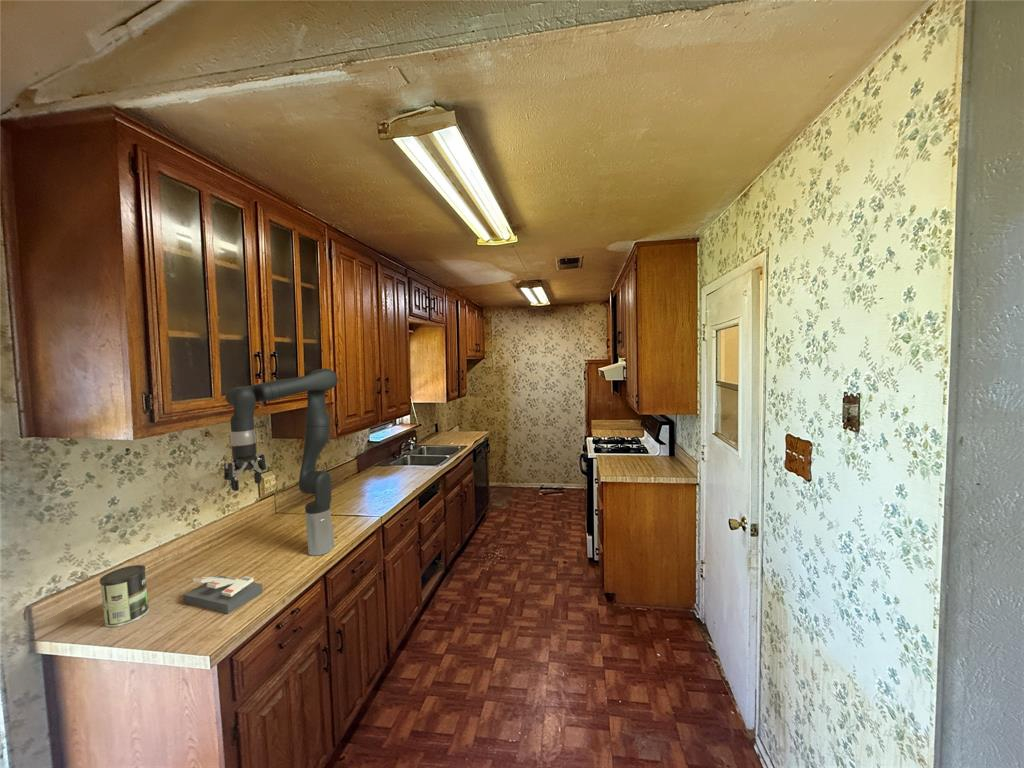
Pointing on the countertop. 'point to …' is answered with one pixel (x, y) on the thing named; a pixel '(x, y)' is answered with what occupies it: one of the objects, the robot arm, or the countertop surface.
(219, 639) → the countertop surface
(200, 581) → the rocker
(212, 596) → the rocker switch panel
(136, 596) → the coffee can
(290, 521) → the countertop surface
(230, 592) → the rocker
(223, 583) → the rocker
